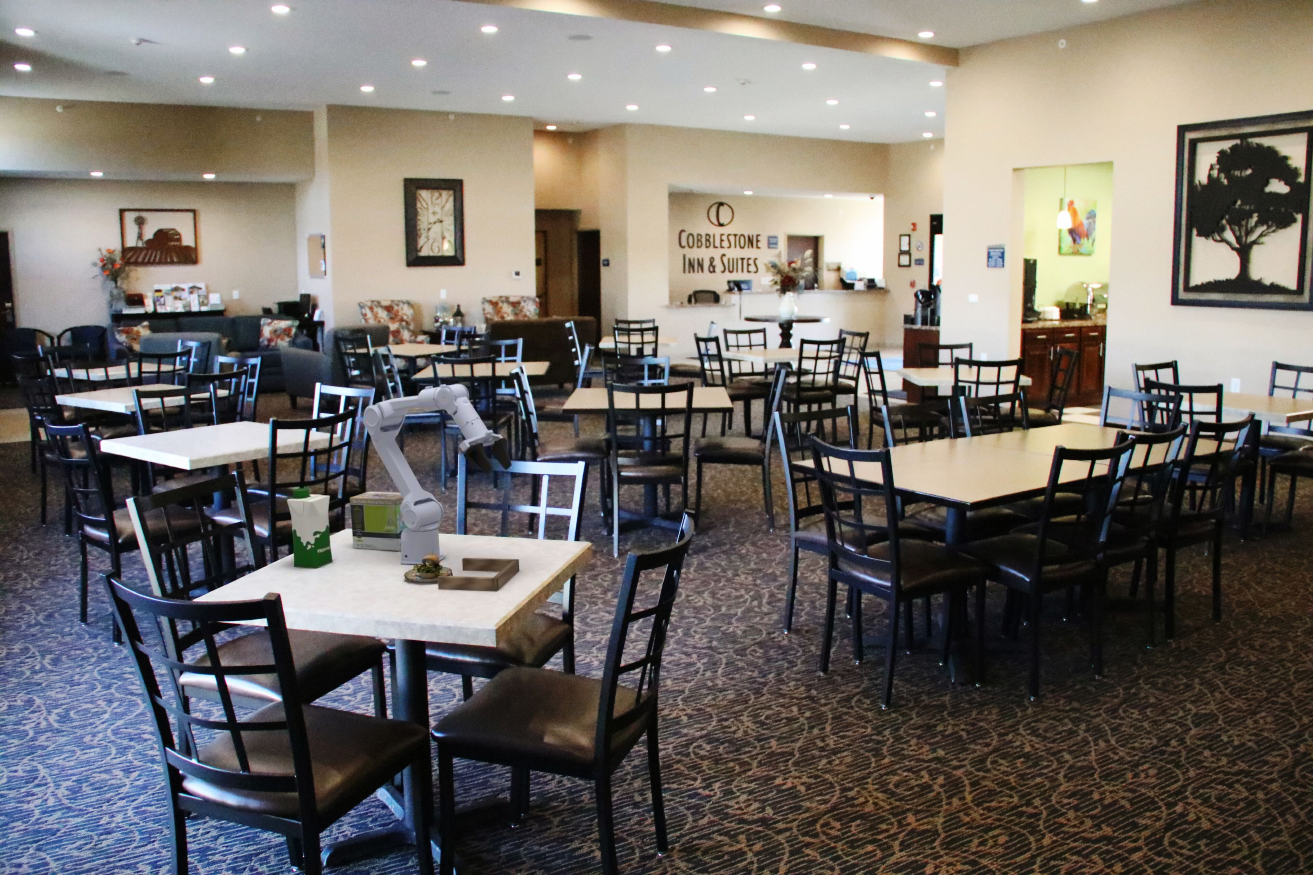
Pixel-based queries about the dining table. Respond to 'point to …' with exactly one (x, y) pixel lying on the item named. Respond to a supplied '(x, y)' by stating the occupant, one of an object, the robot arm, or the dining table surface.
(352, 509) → the tea box
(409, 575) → the burger
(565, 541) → the dining table surface
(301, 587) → the dining table surface
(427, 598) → the dining table surface
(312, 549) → the milk carton
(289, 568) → the dining table surface
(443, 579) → the open wooden frame
